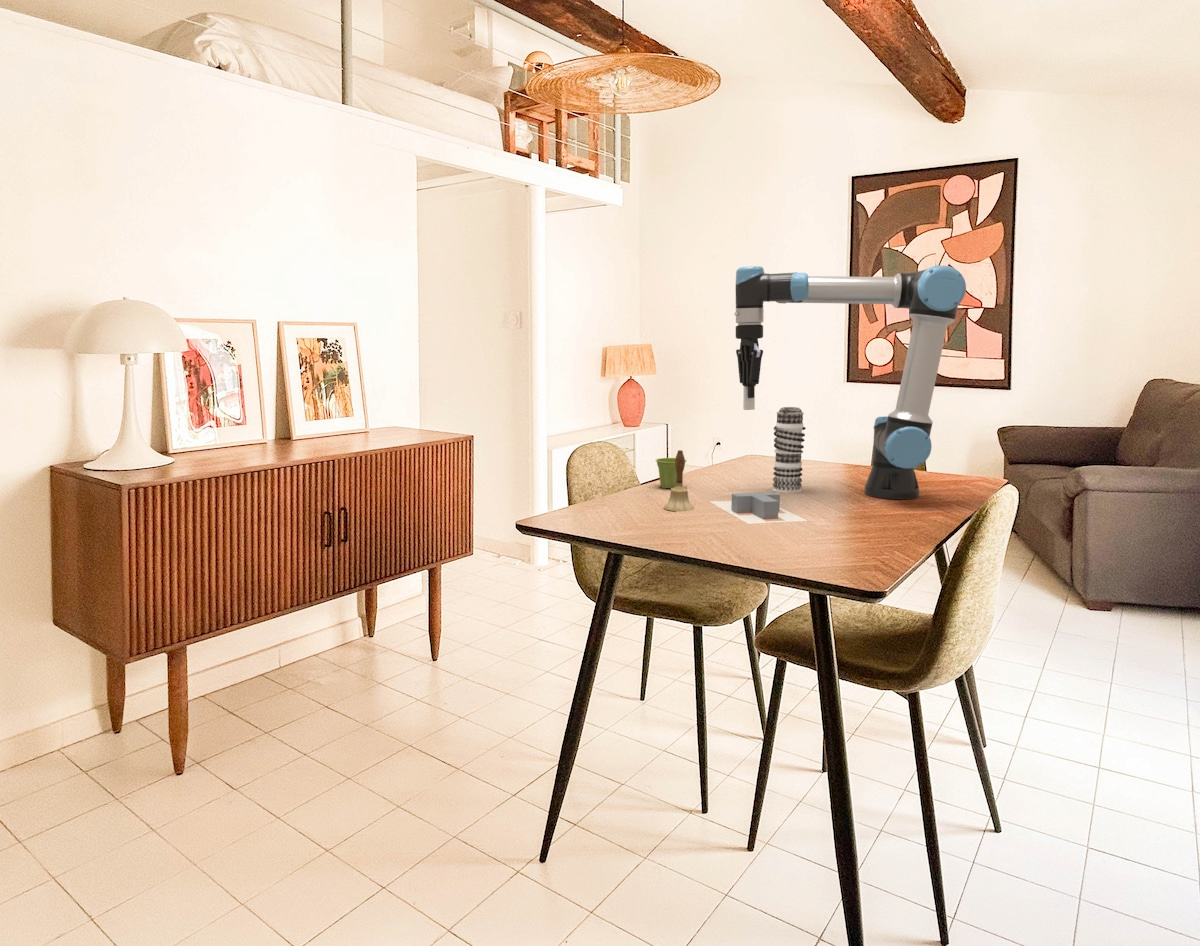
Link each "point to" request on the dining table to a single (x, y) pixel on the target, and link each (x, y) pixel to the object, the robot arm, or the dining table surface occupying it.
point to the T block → (757, 504)
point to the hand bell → (679, 489)
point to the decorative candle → (788, 450)
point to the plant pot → (667, 472)
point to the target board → (754, 519)
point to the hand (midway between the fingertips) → (749, 409)
